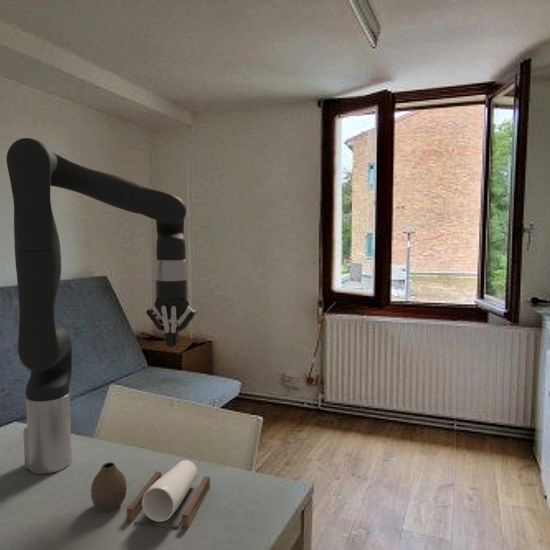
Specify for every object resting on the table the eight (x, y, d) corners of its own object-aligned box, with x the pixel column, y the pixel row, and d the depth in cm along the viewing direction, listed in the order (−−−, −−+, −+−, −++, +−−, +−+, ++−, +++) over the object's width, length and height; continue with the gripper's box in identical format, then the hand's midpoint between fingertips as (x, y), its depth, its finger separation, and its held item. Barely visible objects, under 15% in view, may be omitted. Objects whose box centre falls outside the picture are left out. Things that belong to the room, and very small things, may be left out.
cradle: (125, 522, 90) (125, 510, 89) (156, 482, 104) (156, 471, 104) (187, 529, 88) (187, 517, 87) (209, 487, 102) (209, 476, 102)
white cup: (204, 460, 102) (177, 492, 88) (198, 489, 103) (171, 526, 88) (175, 452, 104) (144, 483, 89) (170, 481, 104) (138, 516, 89)
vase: (99, 495, 98) (98, 456, 97) (131, 496, 98) (131, 457, 97) (85, 515, 91) (84, 473, 91) (120, 517, 91) (119, 474, 90)
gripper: (139, 278, 112) (140, 349, 113) (192, 280, 110) (192, 352, 111) (152, 275, 119) (153, 342, 121) (201, 277, 117) (202, 344, 119)
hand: (172, 346), depth 116 cm, fingers closed
